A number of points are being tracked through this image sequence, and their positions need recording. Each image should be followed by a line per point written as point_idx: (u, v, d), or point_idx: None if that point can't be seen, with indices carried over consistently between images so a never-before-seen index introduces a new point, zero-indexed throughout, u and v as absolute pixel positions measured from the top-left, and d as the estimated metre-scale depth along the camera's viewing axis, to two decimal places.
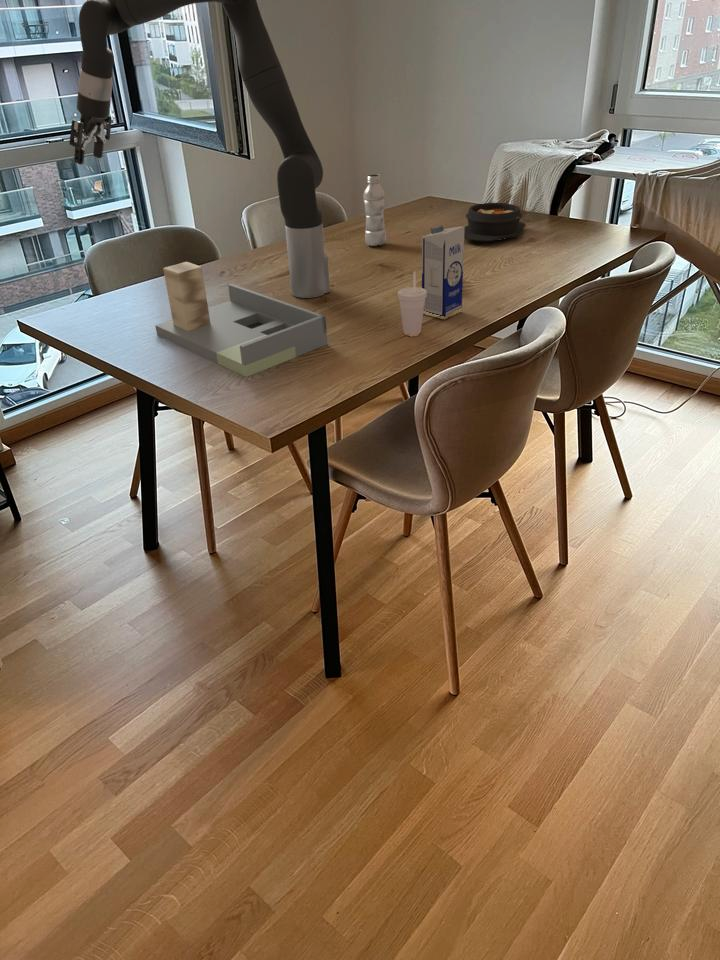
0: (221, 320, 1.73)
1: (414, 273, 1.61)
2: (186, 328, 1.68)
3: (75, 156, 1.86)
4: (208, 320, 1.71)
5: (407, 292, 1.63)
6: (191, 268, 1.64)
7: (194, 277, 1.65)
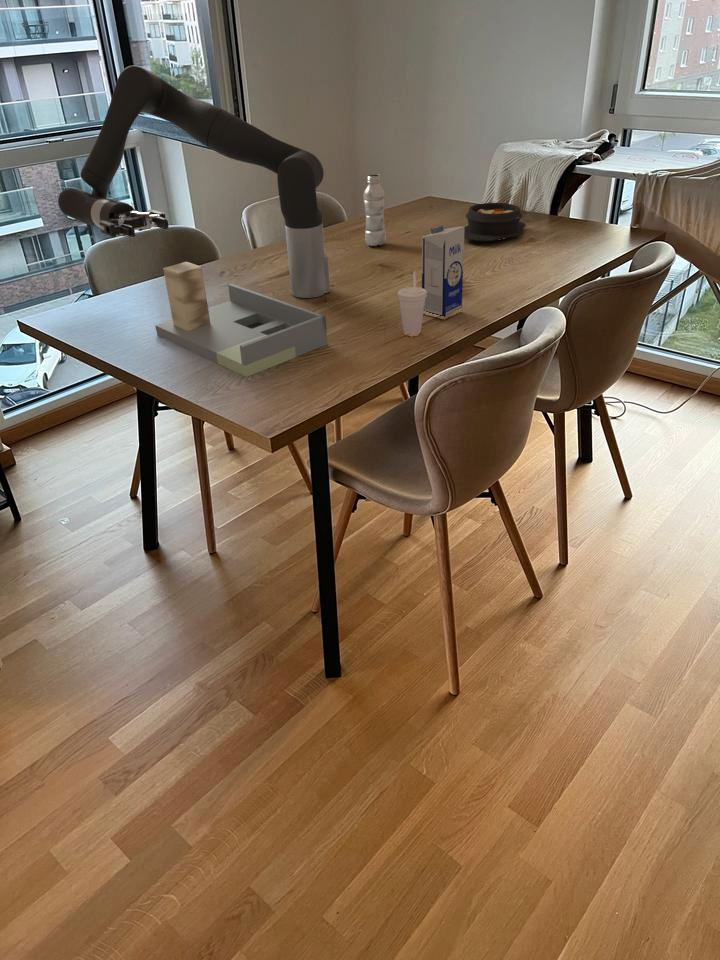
0: (221, 320, 1.73)
1: (414, 273, 1.61)
2: (186, 328, 1.68)
3: (125, 233, 1.66)
4: (208, 320, 1.71)
5: (407, 292, 1.63)
6: (191, 268, 1.64)
7: (194, 277, 1.65)
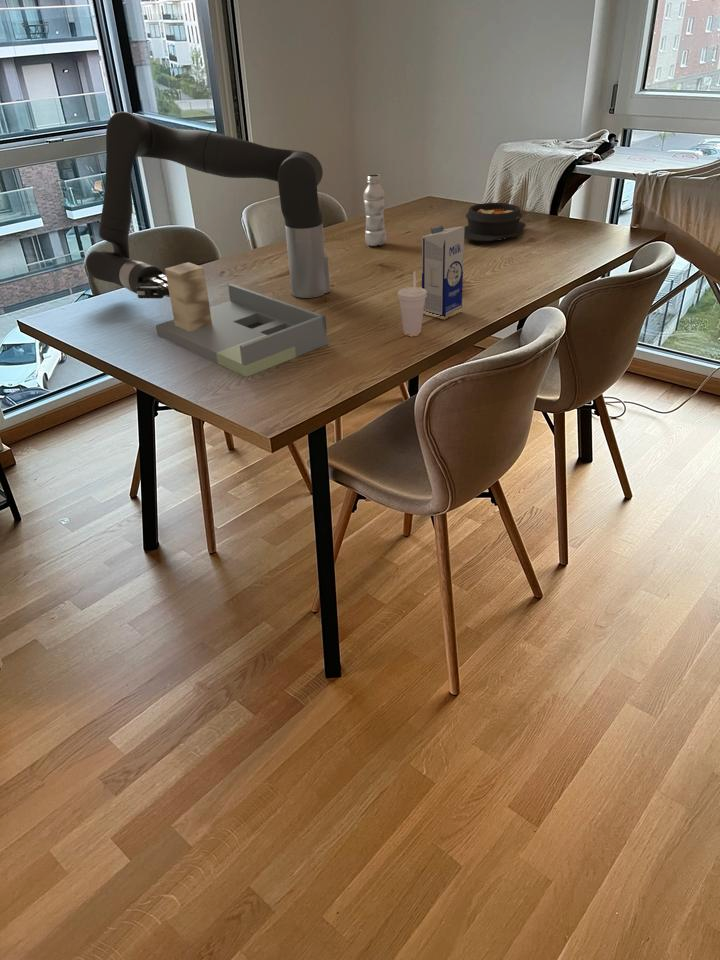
0: (221, 320, 1.73)
1: (414, 273, 1.61)
2: (188, 329, 1.68)
3: None
4: (209, 320, 1.71)
5: (407, 292, 1.63)
6: (193, 269, 1.63)
7: (196, 278, 1.64)
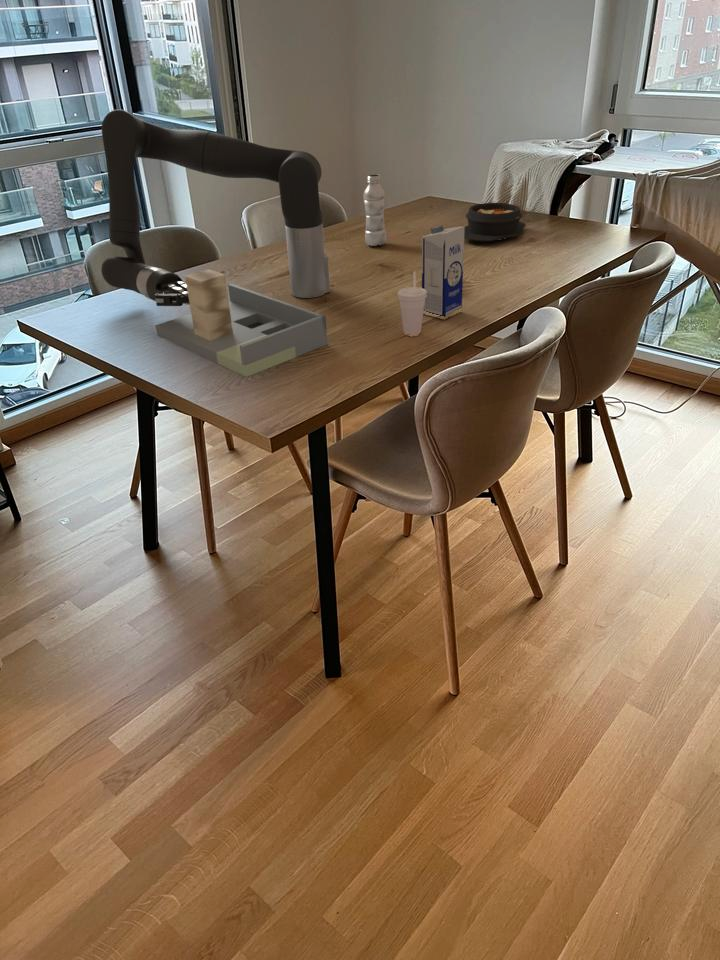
0: None
1: (414, 273, 1.61)
2: (208, 338, 1.63)
3: None
4: (230, 329, 1.65)
5: (407, 292, 1.63)
6: (214, 276, 1.58)
7: (217, 285, 1.59)
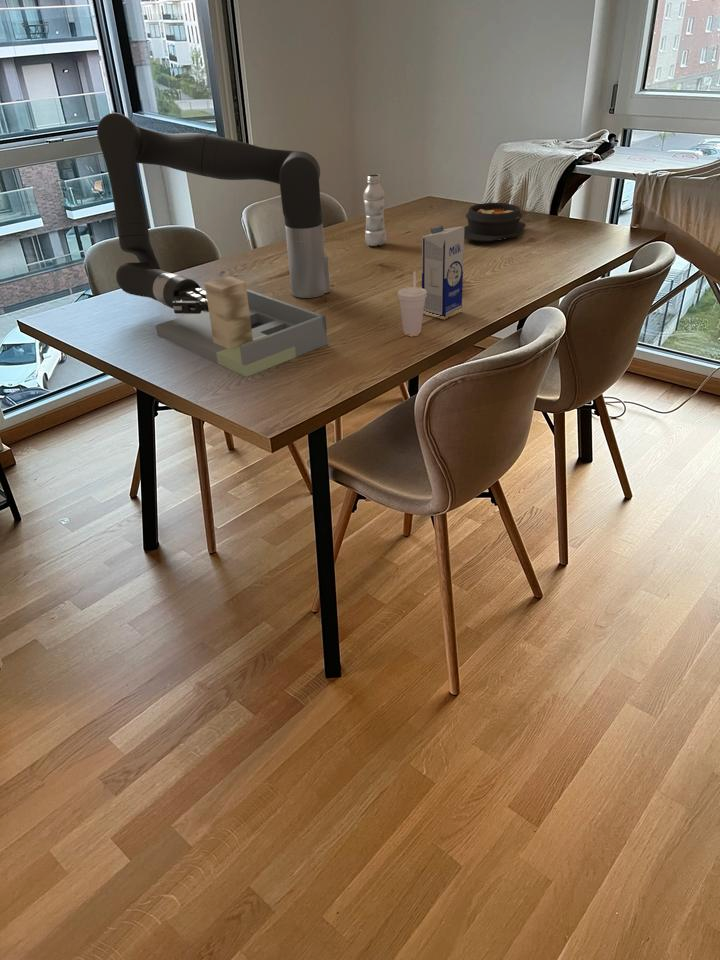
0: None
1: (414, 273, 1.61)
2: (228, 347, 1.58)
3: None
4: (250, 337, 1.61)
5: (407, 292, 1.63)
6: (234, 283, 1.54)
7: (238, 293, 1.54)
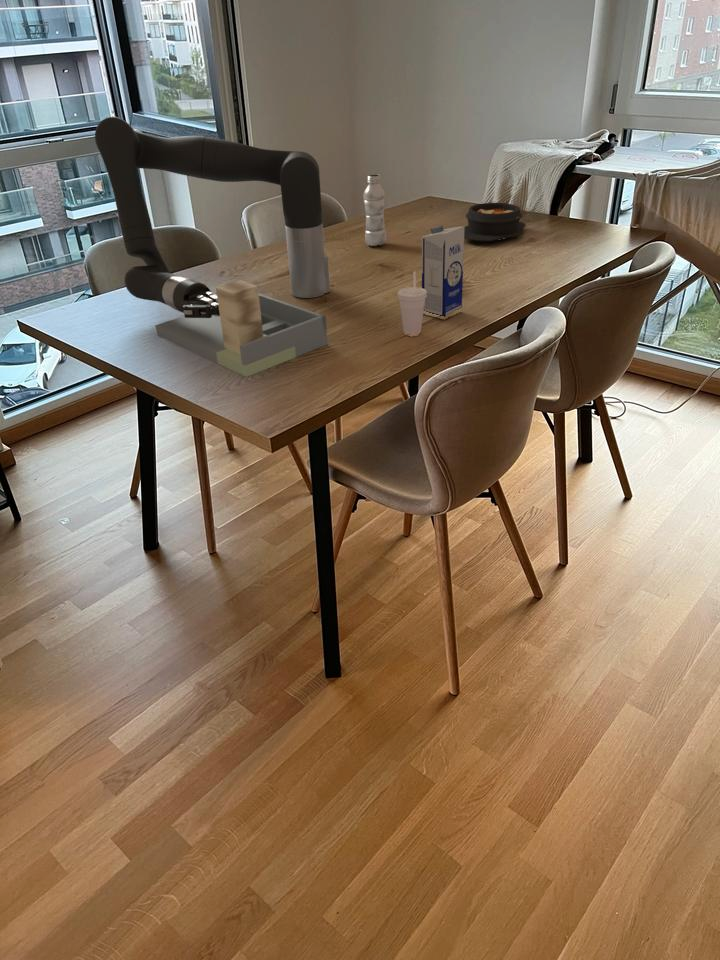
0: None
1: (414, 273, 1.61)
2: (239, 352, 1.56)
3: None
4: None
5: (407, 292, 1.63)
6: (246, 287, 1.51)
7: (250, 297, 1.52)
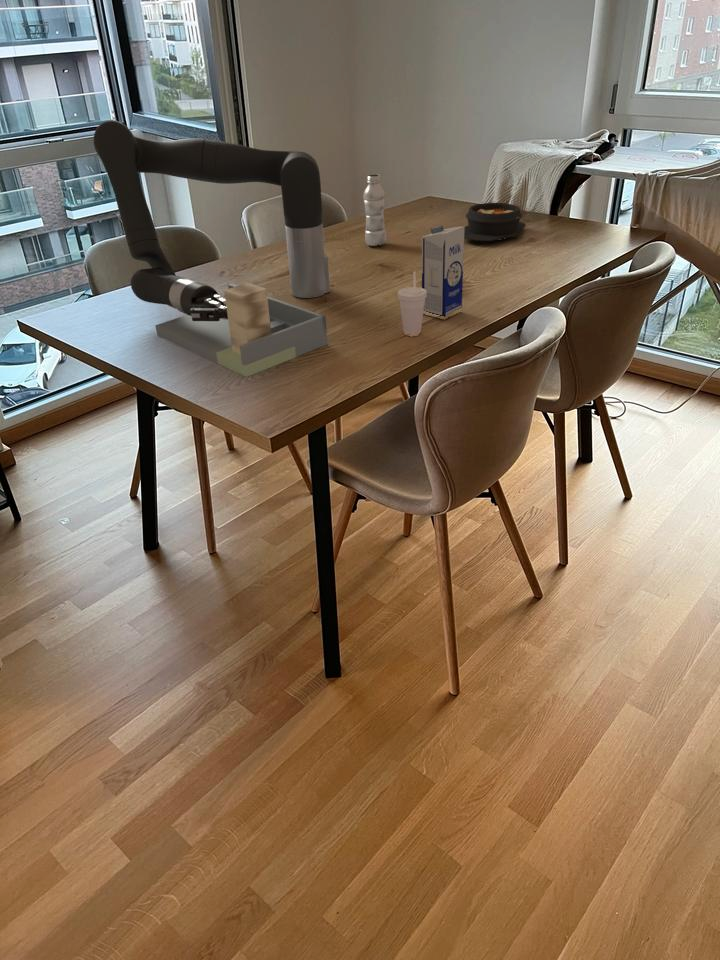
0: (221, 320, 1.73)
1: (414, 273, 1.61)
2: None
3: None
4: None
5: (407, 292, 1.63)
6: (255, 290, 1.50)
7: (259, 300, 1.50)
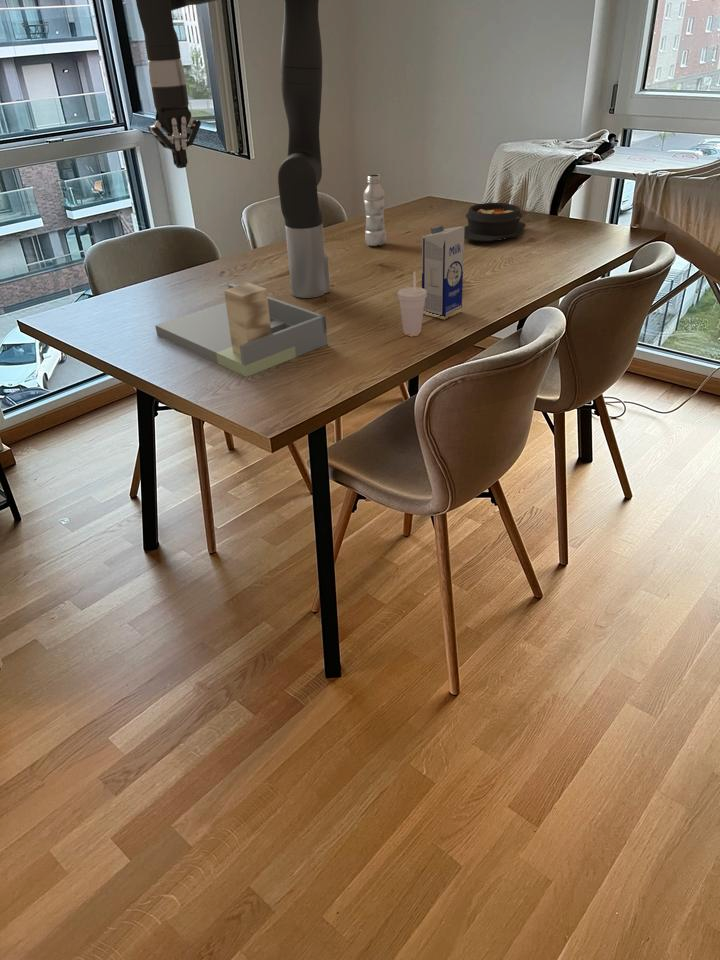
0: (221, 320, 1.73)
1: (414, 273, 1.61)
2: None
3: (174, 160, 1.74)
4: None
5: (407, 292, 1.63)
6: (255, 290, 1.50)
7: (259, 300, 1.50)
